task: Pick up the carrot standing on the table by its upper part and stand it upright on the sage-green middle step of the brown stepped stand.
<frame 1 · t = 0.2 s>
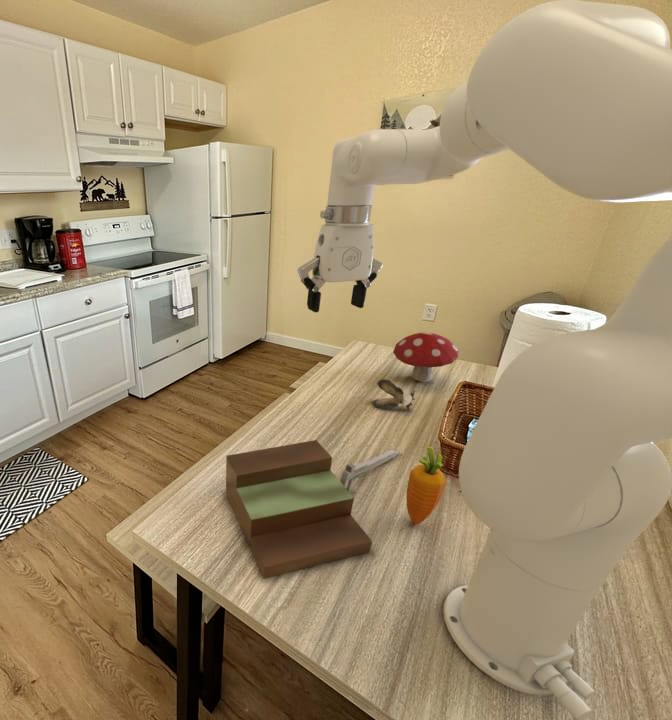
hand: (335, 308, 76), 31 cm above the table, tool pointing down, fingers open, 9 cm apart
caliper: (370, 473, 77), on the table
brown stepped stand: (290, 520, 67), on the table
grey brown forked piece: (391, 406, 101), on the table
decorative mushroom: (417, 381, 113), on the table
carrot: (414, 524, 66), on the table
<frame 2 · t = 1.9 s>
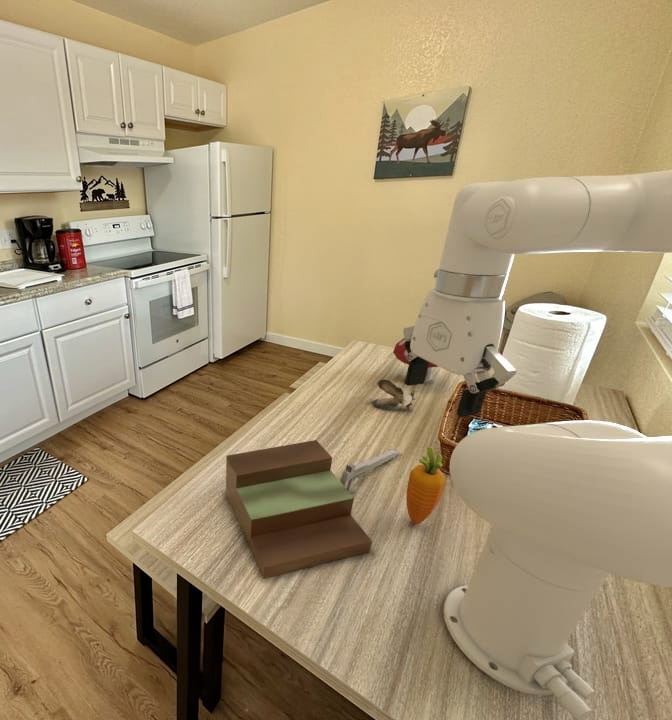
hand: (438, 398, 57), 24 cm above the table, tool pointing down, fingers open, 9 cm apart
nothing on the table moved.
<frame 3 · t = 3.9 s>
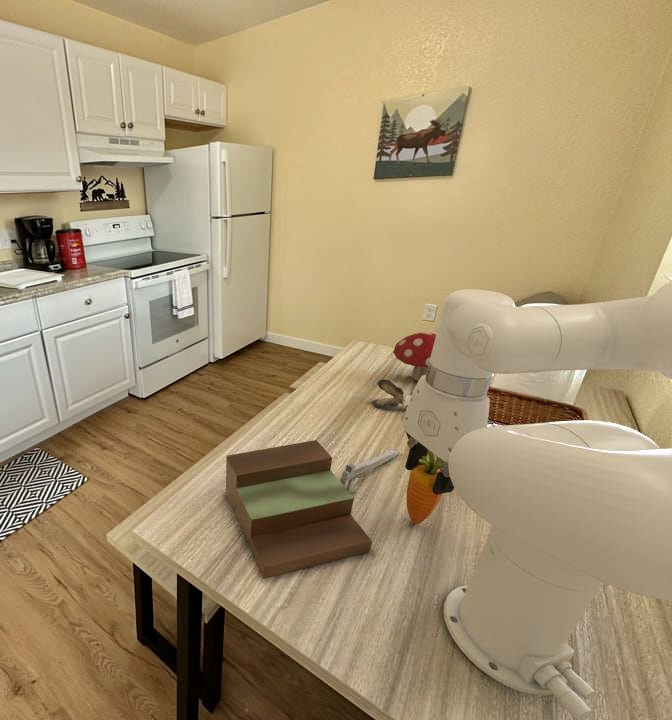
hand: (427, 478, 61), 10 cm above the table, tool pointing down, fingers closed on carrot, 5 cm apart
carrot: (414, 524, 66), on the table, touching gripper
everything else where it was.
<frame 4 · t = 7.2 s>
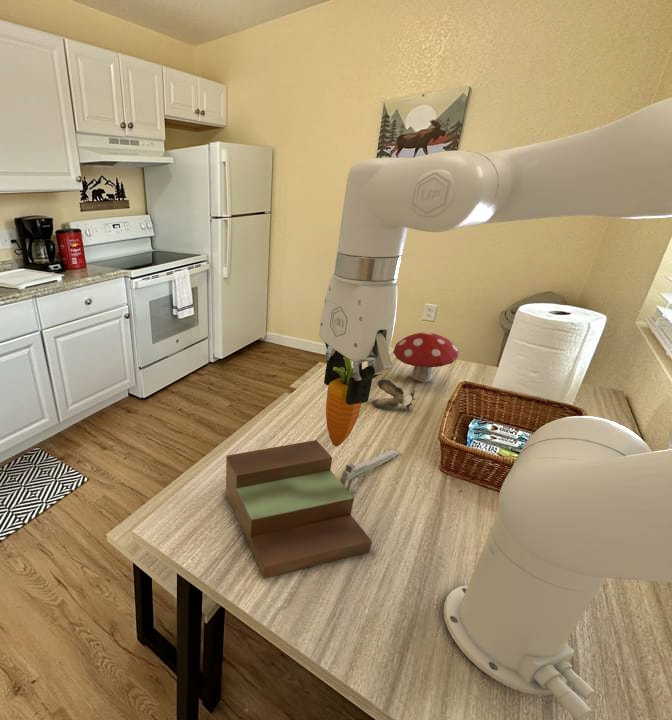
hand: (344, 391, 56), 26 cm above the table, tool pointing down, fingers closed on carrot, 5 cm apart
carrot: (335, 447, 60), point 16 cm above the table, touching gripper
everything else where it was.
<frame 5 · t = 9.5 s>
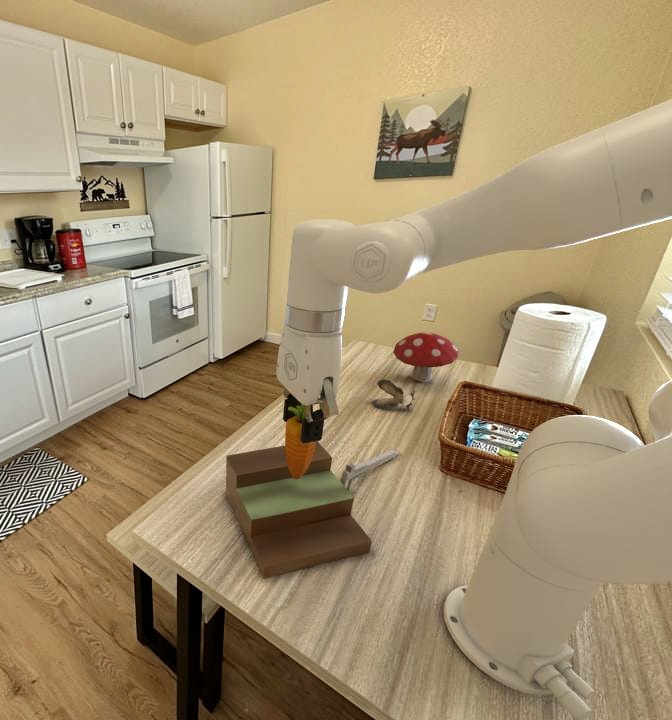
hand: (301, 429, 59), 19 cm above the table, tool pointing down, fingers closed on carrot, 5 cm apart
carrot: (295, 479, 63), point 9 cm above the table, touching gripper
everything else where it was.
when the fingers open (16 cm above the table, at t = 10.8 s): carrot stays where it is, resting on brown stepped stand.
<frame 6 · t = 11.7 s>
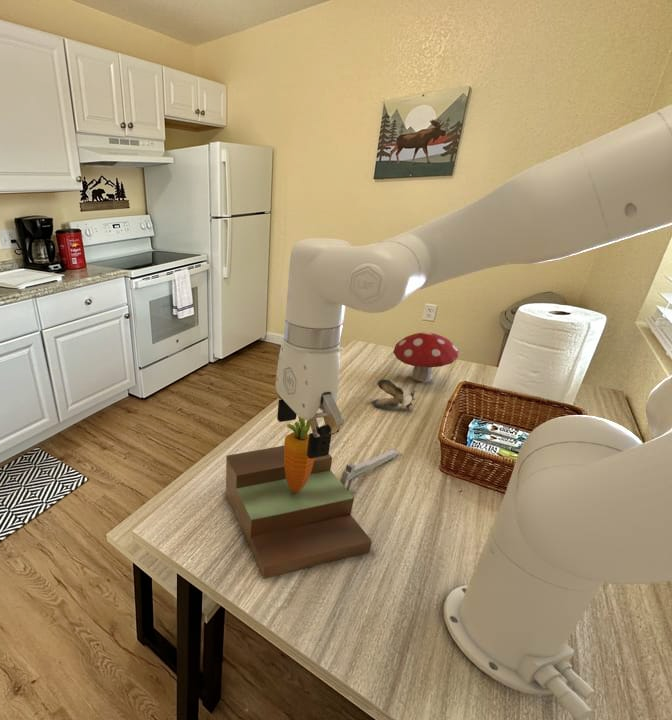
hand: (300, 436, 59), 18 cm above the table, tool pointing down, fingers open, 9 cm apart
carrot: (294, 493, 64), point 6 cm above the table, touching brown stepped stand
everything else where it was.
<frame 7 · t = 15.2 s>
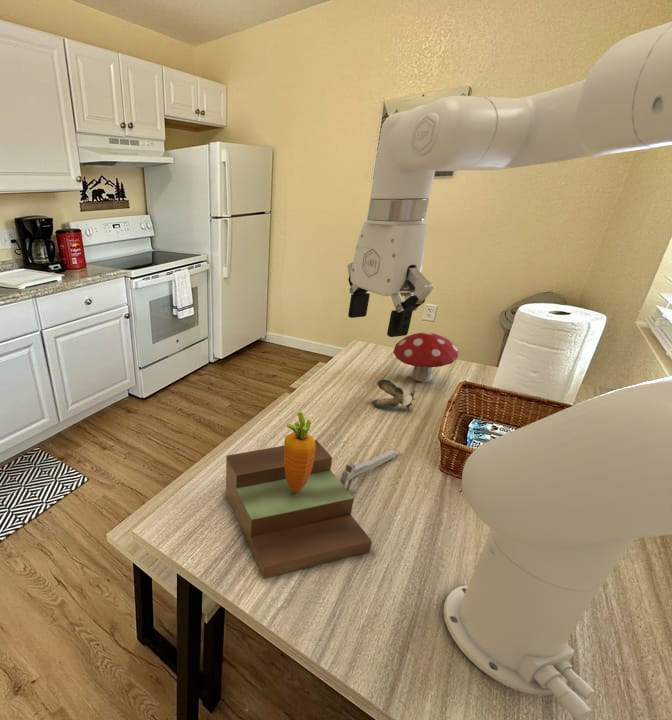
hand: (375, 325, 62), 32 cm above the table, tool pointing down, fingers open, 9 cm apart
nothing on the table moved.
at the end: carrot inside the target area on the brown stepped stand (0.1 cm from its centre), point 6.0 cm above the brown stepped stand's base; carrot tilted 0°; the gripper is holding nothing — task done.
